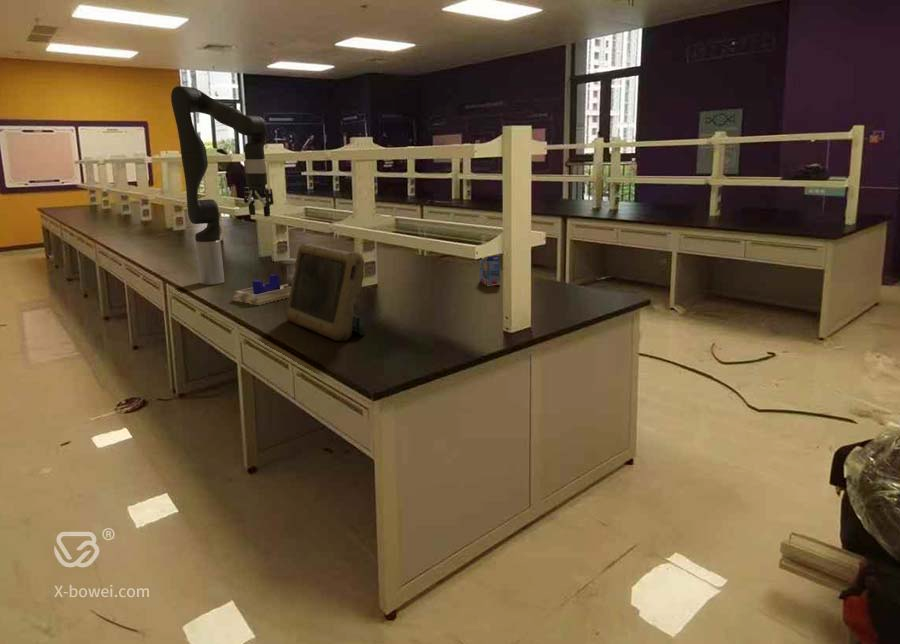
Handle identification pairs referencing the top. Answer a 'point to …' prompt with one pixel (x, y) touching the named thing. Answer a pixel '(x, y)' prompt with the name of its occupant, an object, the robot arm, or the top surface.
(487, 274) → the ink cartridge box
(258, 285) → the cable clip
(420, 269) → the top surface
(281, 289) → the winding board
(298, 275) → the tablet
